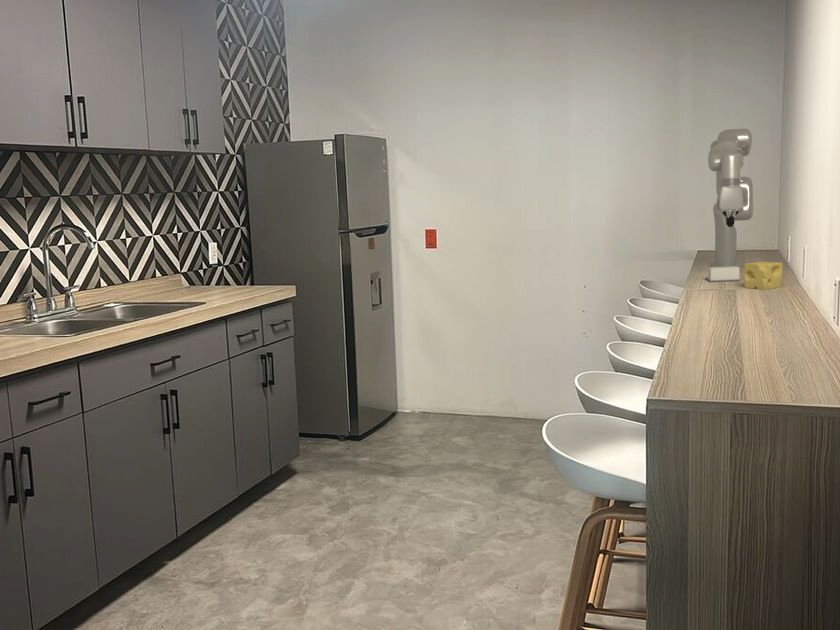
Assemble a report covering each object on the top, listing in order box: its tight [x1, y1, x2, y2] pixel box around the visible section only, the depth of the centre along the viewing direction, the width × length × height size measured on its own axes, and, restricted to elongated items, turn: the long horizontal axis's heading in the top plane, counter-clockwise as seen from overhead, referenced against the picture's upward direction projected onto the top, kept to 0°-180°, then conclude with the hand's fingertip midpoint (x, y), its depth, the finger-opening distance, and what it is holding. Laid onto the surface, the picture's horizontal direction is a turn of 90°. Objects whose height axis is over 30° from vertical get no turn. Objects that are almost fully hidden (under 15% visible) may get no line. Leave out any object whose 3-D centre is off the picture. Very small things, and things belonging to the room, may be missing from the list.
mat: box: [704, 277, 740, 283], centre depth 364 cm, size 10×12×1 cm
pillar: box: [707, 266, 741, 280], centre depth 363 cm, size 5×5×12 cm
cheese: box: [743, 261, 784, 291], centre depth 338 cm, size 10×11×10 cm
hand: (730, 226), depth 360 cm, fingers closed
